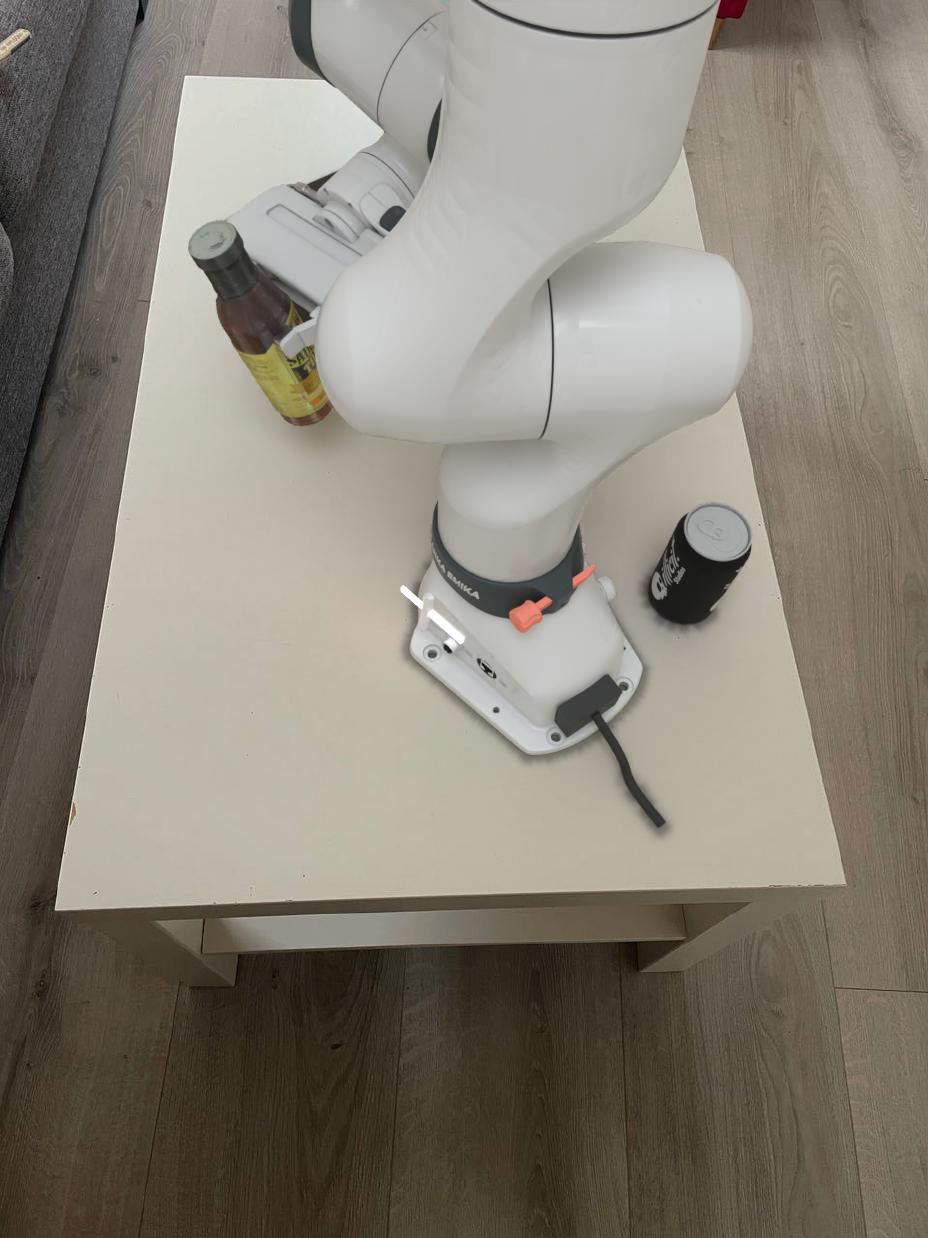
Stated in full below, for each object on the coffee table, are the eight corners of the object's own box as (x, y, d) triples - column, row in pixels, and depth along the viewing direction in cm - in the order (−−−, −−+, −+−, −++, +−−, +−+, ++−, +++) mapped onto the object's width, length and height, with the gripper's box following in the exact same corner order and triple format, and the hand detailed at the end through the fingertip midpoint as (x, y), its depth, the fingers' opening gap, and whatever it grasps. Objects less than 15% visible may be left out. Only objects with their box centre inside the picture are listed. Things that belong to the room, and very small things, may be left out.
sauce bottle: (337, 426, 80) (243, 271, 62) (275, 432, 82) (166, 282, 64) (343, 369, 83) (255, 204, 65) (283, 375, 84) (180, 215, 66)
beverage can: (692, 640, 80) (733, 578, 69) (633, 601, 81) (664, 535, 71) (726, 592, 82) (771, 524, 72) (668, 555, 84) (704, 484, 73)
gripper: (277, 146, 75) (164, 251, 73) (438, 240, 67) (315, 360, 65) (304, 204, 81) (200, 302, 79) (456, 297, 73) (343, 409, 71)
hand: (253, 329), depth 72 cm, fingers closed on sauce bottle, 6 cm apart
